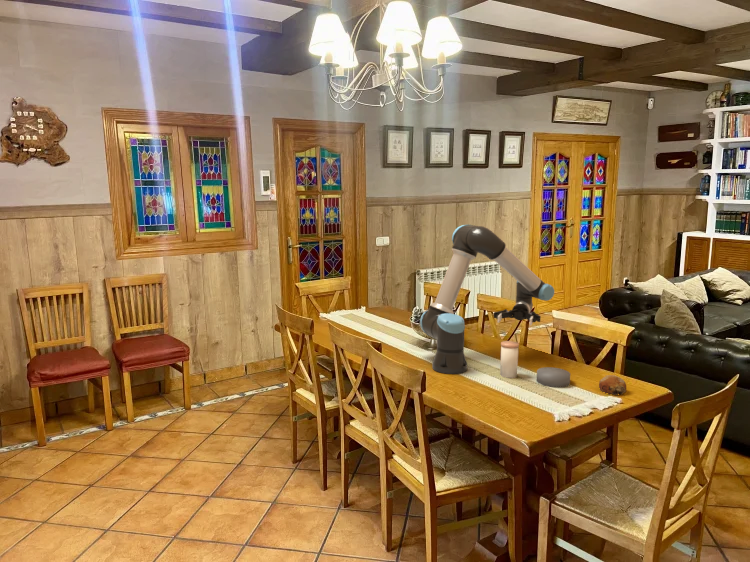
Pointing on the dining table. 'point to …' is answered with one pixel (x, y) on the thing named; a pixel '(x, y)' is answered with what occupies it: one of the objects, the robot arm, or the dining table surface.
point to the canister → (509, 359)
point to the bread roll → (612, 385)
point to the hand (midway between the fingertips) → (514, 320)
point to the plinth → (553, 377)
